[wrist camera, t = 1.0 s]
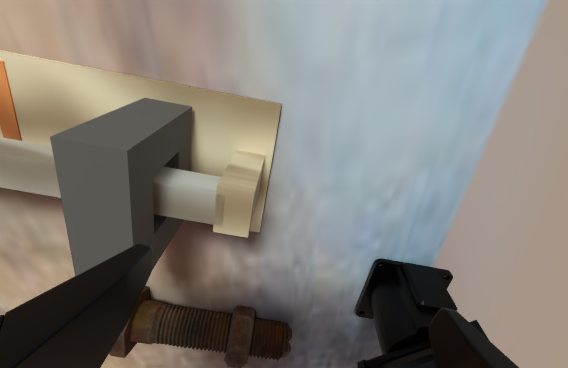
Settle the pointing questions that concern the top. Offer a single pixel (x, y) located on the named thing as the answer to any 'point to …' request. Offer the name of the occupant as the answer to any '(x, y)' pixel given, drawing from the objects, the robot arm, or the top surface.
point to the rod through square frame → (120, 92)
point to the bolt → (204, 331)
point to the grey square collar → (119, 178)
